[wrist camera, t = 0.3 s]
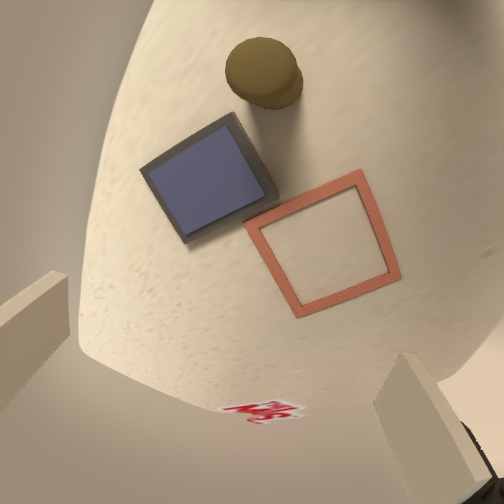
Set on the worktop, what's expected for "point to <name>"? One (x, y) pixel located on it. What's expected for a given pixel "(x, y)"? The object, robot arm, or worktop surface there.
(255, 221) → the marked square
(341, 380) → the worktop surface
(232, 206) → the ink pad
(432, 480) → the robot arm
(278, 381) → the worktop surface
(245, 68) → the cork
